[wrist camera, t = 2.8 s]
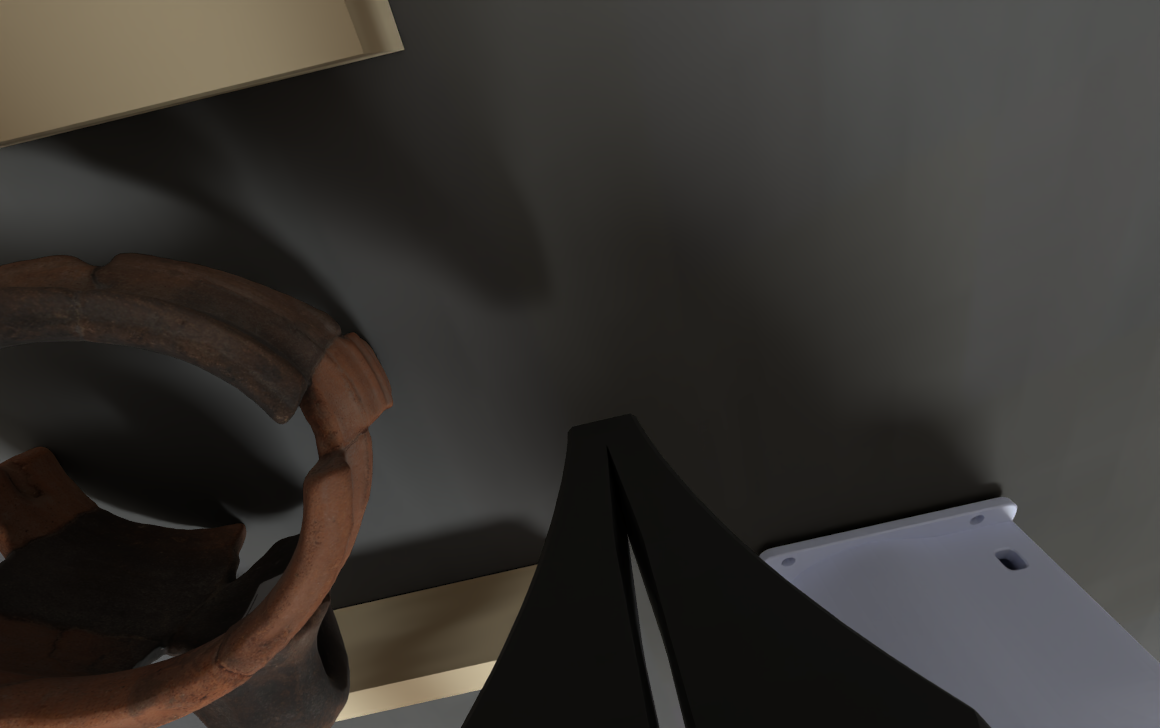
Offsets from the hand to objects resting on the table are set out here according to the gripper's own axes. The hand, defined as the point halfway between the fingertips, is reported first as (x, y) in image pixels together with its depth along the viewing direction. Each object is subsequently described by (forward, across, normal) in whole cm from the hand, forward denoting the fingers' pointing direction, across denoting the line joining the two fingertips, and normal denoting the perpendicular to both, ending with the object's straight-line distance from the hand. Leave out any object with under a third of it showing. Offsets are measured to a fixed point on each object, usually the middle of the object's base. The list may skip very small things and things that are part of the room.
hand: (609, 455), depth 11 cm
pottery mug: (+4, +10, 0) cm, 10 cm away
